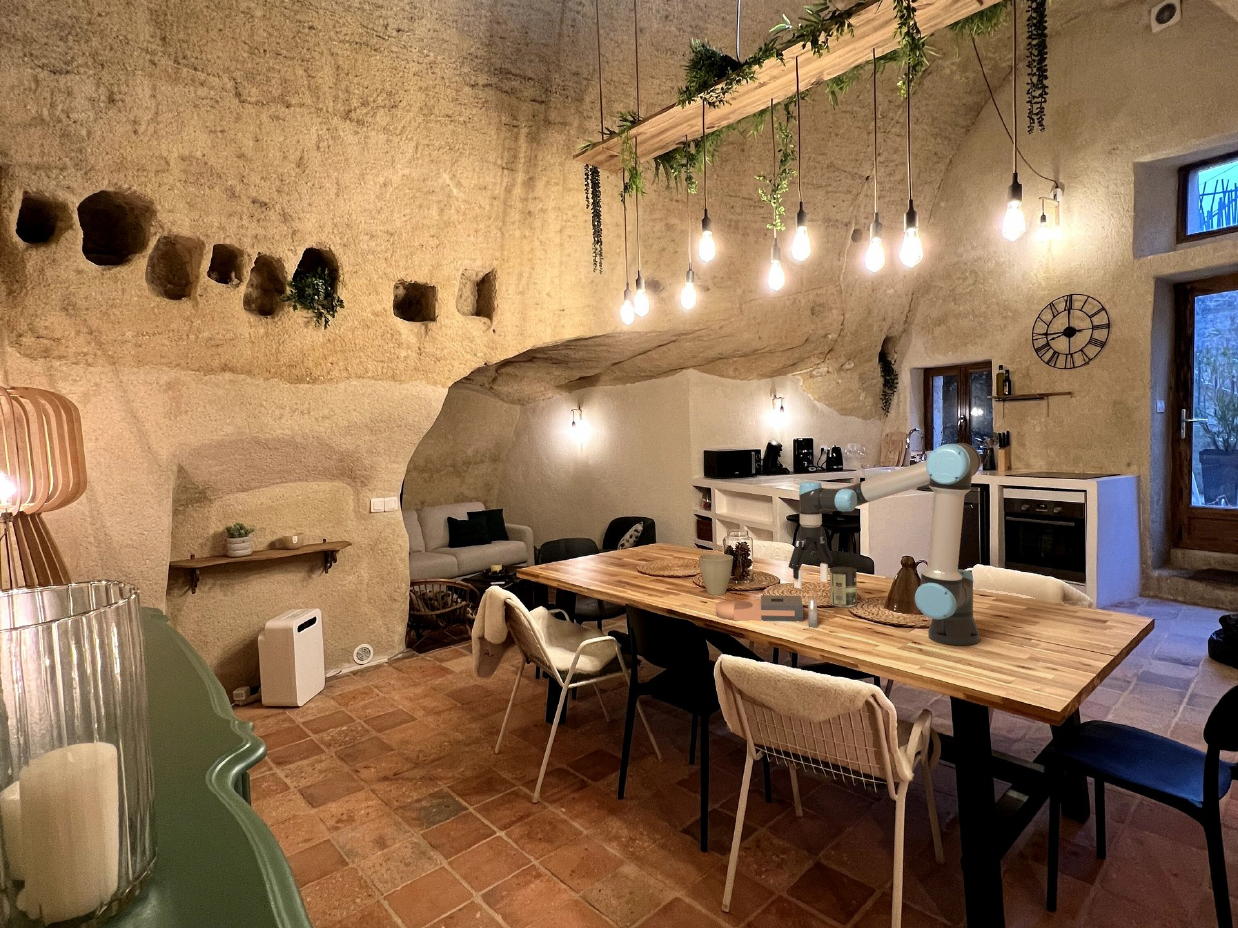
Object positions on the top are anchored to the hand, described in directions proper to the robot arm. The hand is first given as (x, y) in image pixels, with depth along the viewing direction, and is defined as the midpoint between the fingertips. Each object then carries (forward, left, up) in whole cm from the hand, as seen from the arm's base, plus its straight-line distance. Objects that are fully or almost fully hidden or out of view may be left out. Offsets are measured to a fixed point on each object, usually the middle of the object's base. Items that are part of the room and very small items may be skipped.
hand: (811, 584), depth 246 cm
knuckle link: (+13, +20, -15) cm, 28 cm away
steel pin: (0, 0, -15) cm, 15 cm away
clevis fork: (+13, +10, -15) cm, 22 cm away
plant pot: (+47, +37, -15) cm, 61 cm away
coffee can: (+32, -14, -15) cm, 38 cm away
